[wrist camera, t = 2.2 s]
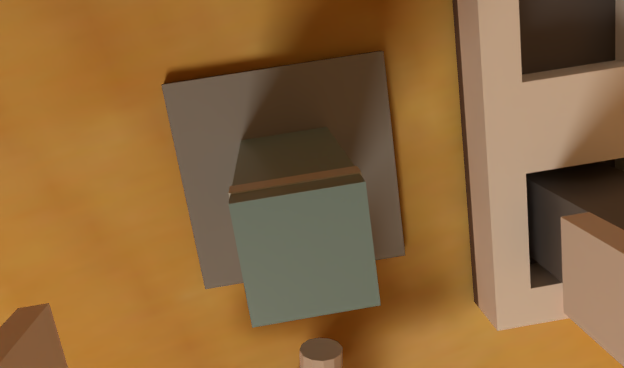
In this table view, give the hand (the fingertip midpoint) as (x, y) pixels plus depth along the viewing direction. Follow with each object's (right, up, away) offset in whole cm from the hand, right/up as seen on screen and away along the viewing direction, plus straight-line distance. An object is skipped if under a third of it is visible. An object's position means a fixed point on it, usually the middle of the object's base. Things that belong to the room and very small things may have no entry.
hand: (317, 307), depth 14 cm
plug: (-1, +4, +12) cm, 13 cm away
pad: (-1, +4, +13) cm, 13 cm away
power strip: (+11, +7, +13) cm, 18 cm away
